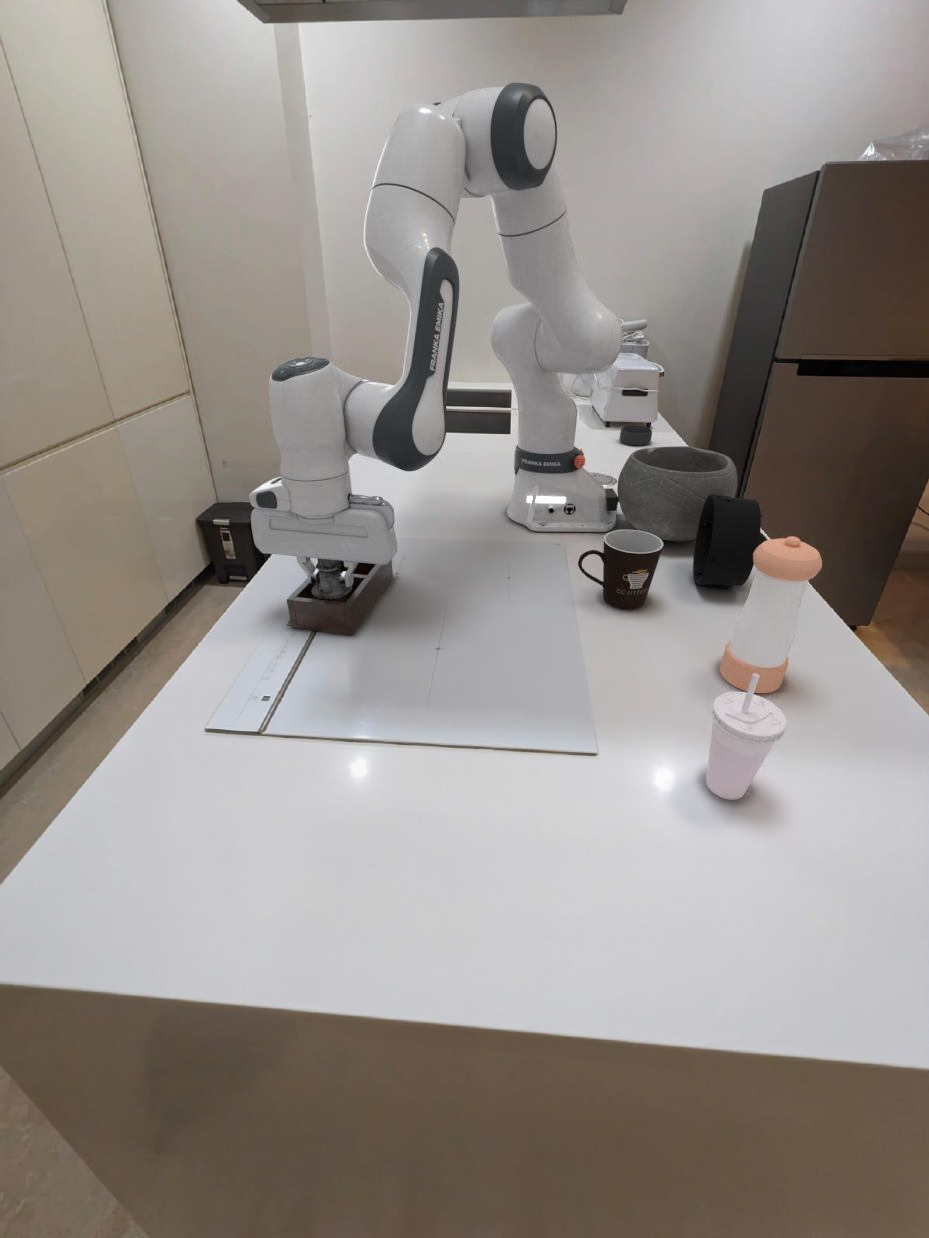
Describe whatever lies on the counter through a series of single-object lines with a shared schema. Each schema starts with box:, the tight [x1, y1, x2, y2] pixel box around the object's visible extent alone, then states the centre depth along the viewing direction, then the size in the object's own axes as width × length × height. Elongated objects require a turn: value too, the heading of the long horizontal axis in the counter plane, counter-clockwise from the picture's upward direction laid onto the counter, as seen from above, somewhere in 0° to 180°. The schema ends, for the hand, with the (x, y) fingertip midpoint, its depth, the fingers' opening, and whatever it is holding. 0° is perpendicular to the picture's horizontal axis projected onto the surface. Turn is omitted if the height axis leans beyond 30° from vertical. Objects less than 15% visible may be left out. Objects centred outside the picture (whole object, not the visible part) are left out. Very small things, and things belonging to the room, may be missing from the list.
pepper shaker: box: [719, 535, 823, 694], centre depth 69 cm, size 7×7×19 cm
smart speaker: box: [619, 425, 653, 447], centre depth 169 cm, size 9×9×4 cm
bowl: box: [616, 445, 738, 542], centre depth 109 cm, size 21×21×15 cm
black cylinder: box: [692, 494, 768, 589], centre depth 92 cm, size 14×14×10 cm
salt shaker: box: [312, 558, 352, 603], centre depth 83 cm, size 6×6×12 cm
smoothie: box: [705, 673, 788, 801], centre depth 55 cm, size 6×6×14 cm
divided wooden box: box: [286, 559, 394, 637], centre depth 89 cm, size 10×18×5 cm, turn 168°
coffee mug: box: [577, 529, 664, 611], centre depth 89 cm, size 12×9×10 cm
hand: (331, 583), depth 84 cm, fingers closed on salt shaker, 3 cm apart
